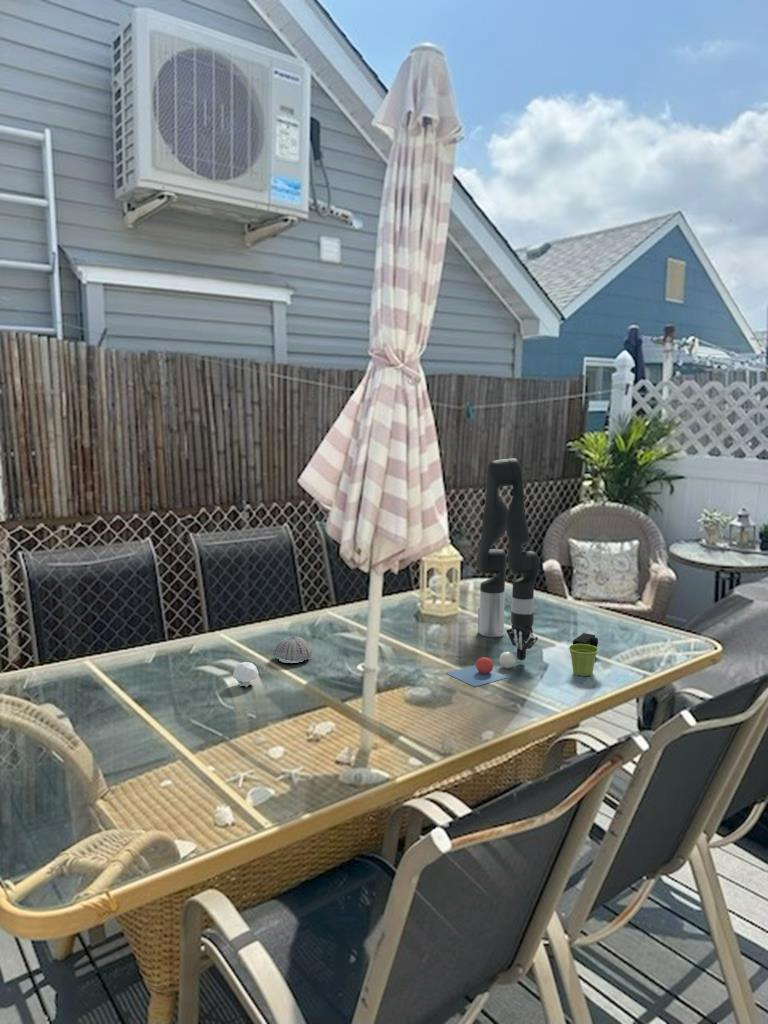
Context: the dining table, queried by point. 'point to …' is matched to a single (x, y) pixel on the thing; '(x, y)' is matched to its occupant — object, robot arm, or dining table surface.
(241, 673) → the geometric ball
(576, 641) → the digital camera
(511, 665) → the cue ball
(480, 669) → the red ball
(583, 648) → the plant pot
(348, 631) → the dining table surface
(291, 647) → the sea urchin shell
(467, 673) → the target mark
